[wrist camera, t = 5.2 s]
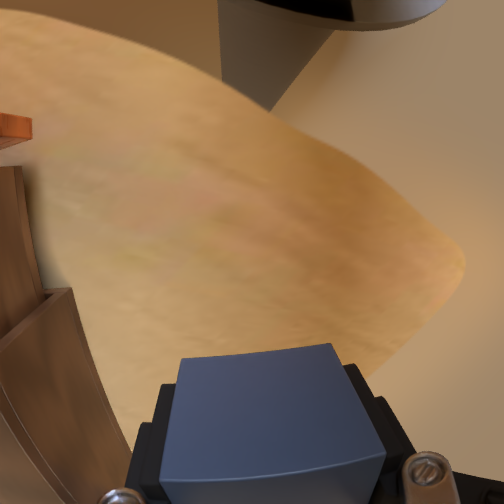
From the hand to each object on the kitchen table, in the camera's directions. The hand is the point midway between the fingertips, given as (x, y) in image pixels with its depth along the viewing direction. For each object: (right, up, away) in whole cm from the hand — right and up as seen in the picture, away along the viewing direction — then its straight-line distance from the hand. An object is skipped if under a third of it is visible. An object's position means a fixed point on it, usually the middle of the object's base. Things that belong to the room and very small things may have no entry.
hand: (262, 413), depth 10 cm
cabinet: (-16, -4, +8) cm, 19 cm away
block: (0, 0, 0) cm, 0 cm away
